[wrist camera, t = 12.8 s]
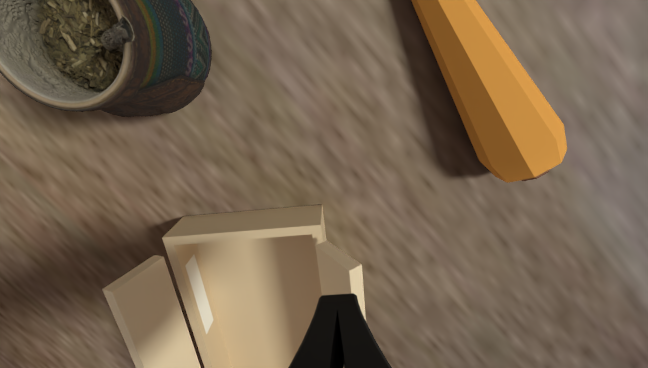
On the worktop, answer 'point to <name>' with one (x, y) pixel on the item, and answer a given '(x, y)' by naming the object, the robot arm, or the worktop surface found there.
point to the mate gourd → (105, 53)
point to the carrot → (492, 92)
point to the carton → (248, 282)
